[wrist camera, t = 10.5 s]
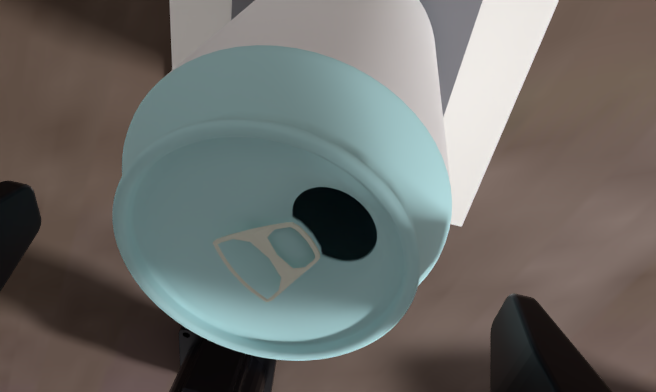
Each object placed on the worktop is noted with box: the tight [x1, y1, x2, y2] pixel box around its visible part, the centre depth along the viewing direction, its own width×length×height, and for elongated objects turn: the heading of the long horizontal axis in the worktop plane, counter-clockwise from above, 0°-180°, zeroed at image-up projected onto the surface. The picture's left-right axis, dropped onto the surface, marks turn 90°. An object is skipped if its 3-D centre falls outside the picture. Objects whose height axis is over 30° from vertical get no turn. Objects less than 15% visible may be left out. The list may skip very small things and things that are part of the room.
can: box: [113, 0, 452, 361], centre depth 14 cm, size 7×7×12 cm
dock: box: [169, 0, 559, 227], centre depth 19 cm, size 14×14×1 cm
